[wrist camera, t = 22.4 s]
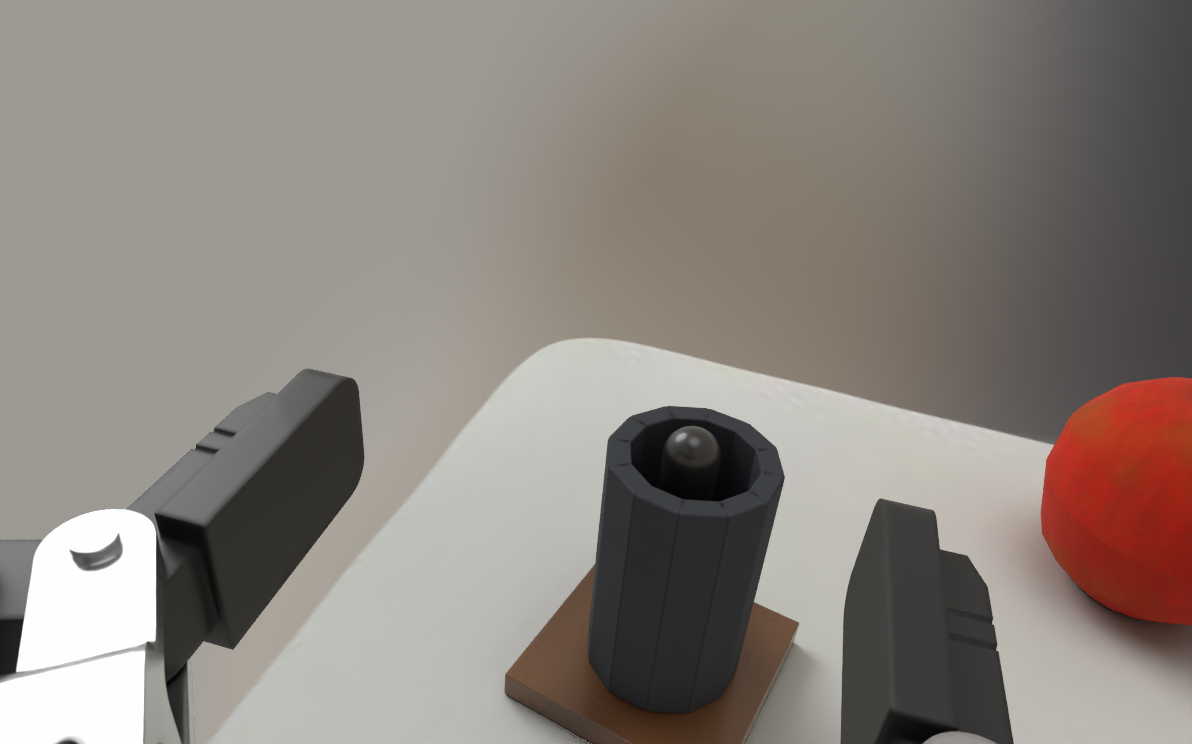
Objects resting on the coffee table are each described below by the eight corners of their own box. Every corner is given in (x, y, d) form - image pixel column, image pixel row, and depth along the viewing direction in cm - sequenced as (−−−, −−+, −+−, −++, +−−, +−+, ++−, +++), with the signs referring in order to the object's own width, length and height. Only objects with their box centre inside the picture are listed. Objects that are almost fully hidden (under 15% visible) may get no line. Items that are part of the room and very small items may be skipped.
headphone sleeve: (560, 666, 34) (575, 470, 29) (631, 573, 39) (656, 388, 33) (698, 741, 32) (743, 543, 26) (757, 632, 36) (806, 444, 31)
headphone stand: (503, 693, 34) (510, 452, 28) (613, 557, 41) (639, 336, 34) (712, 811, 31) (776, 567, 24) (794, 641, 38) (861, 413, 31)
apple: (1221, 551, 45) (1343, 362, 38) (1260, 702, 37) (1422, 496, 30) (1013, 489, 48) (1095, 305, 41) (1008, 615, 40) (1108, 412, 33)
